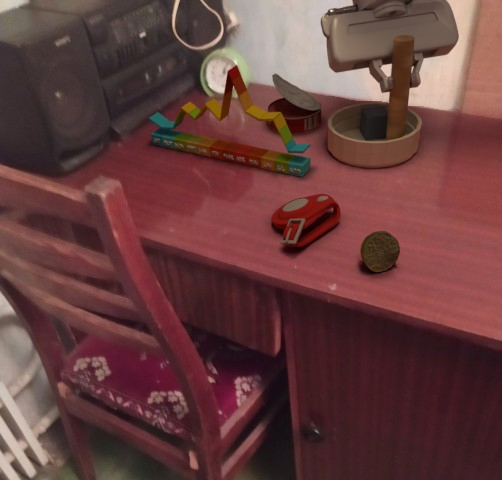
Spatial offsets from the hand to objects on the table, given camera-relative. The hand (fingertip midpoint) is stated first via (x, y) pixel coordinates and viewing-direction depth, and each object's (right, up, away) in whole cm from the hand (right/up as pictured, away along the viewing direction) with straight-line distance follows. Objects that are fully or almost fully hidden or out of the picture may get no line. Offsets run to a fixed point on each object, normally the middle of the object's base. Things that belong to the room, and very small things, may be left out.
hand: (401, 88), depth 90 cm
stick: (+1, -6, +6) cm, 9 cm away
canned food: (-15, +1, +19) cm, 24 cm away
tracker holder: (-16, -23, -6) cm, 29 cm away
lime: (-7, -29, -13) cm, 33 cm away
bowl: (-2, -6, +10) cm, 12 cm away
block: (-2, -3, +12) cm, 12 cm away
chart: (-27, -7, +11) cm, 30 cm away
